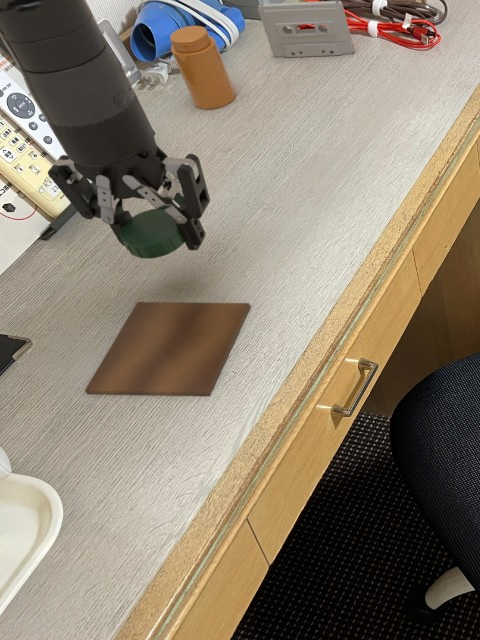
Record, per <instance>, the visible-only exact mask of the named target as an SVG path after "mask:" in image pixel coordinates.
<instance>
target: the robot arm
mask: <svg viewBox="0 0 480 640" xmlns="http://www.w3.org/2000/svg"><path fill="white" fill-rule="evenodd" d="M0 39H1V40H2V42H3V44H4V45H5V47H6V49H7V51H8V52H9V54H10V55H11V57H12V59H13V61H14V62H15V64H16V66H17V68H18V70H19V71H20V73H21V76H22V78H23V80H24V83H25V86H26V88H27V90H28V91H29V94H30V96H31V97H32V99H33V100H34V103H35V104H36V107H38V109H39V111H40V112H41V114H42V116H43V117H44V119H45V121H46V122H47V124H48V126H49V127H50V129H51V131H52V132H53V134H54V136H55V138H56V139H57V141H58V144H59V145H60V146H61V148H62V150H63V151H64V152H65V154H62V155H60V156H59V157H58V158H57V159H56V160H55V162H54V163H53V164H52V165H51V167H50V168H49V169H48V171H47V175H48V177H49V178H50V179H51V180H52V181H53V183H54V184H55V185H56V186H57V188H58V189H59V190H60V192H62V194H63V195H64V196H65V197H66V199H67V200H68V201H69V202H70V204H71V205H72V206H73V207H74V209H75V210H76V211H77V212H78V213H79V215H80V216H81V217H82V218H83V219H86V220H92V219H94V218H97V219H100V220H101V221H102V222H103V223H104V224H106V225H108V226H109V227H110V229H111V230H112V233H113V234H114V236H115V237H116V239H117V241H118V242H119V244H121V245H122V246H124V247H125V245H124V243H123V242H122V241H123V240H122V238H121V235H120V234H121V229H122V228H123V226H124V225H125V223H126V222H127V221H128V220H130V219H131V218H132V217H133V215H132V214H131V212H130V210H124V208H125V200H128V199H131V198H135V199H140V200H146V201H147V202H148V203H149V204H150V205H152V206H153V207H154V209H158V210H160V209H162V210H164V211H165V212H166V213H167V214H168V215H169V216H170V217H171V218H173V219H174V220H175V221H176V226H177V228H178V230H179V232H180V233H181V235H182V237H183V239H184V241H185V242H184V244H185V246H186V247H187V249H188V250H189V251H199V249H200V247H201V245H202V244H203V242H204V240H205V238H206V231H205V229H204V227H203V225H202V222H201V220H200V219H201V218H202V217H203V215H204V213H205V211H206V209H207V208H208V206H209V204H210V203H211V197H210V193H209V190H208V186H207V182H206V179H205V177H204V172H203V168H202V165H201V161H200V157H198V156H197V155H196V154H193V153H187V154H186V156H185V157H184V158H178V157H169V156H168V155H167V153H165V152H164V151H163V150H162V149H161V148H160V147H159V146H158V144H157V141H156V137H155V134H154V129H153V127H152V125H151V123H150V121H149V118H148V116H147V114H146V113H145V110H144V108H143V106H142V104H141V102H140V100H139V99H138V95H137V94H136V92H135V90H134V88H133V86H132V84H131V82H130V80H129V78H128V76H127V73H126V71H125V70H124V68H123V66H122V64H121V62H120V61H119V59H118V57H117V56H116V54H115V53H114V51H113V50H112V49H111V47H110V45H109V44H108V42H107V40H106V37H105V35H104V34H103V32H102V30H101V28H100V26H99V24H98V21H97V20H96V18H95V15H94V14H93V12H92V10H91V8H90V6H89V4H88V2H87V0H0ZM170 173H171V174H172V176H171V174H170ZM91 182H92V183H93V184H94V185H95V186H96V187H97V188H95V186H94V185H93V184H92V183H91ZM161 187H162V189H163V190H162V191H161V193H159V191H160V188H161ZM85 198H86V199H85Z"/></svg>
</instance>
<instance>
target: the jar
mask: <svg viewBox="0 0 480 640" xmlns="http://www.w3.org/2000/svg"><path fill="white" fill-rule="evenodd" d="M169 39H170V44H171V46H170V51H171V54H172V56H173V59H174V61H175V64H176V65H177V67H178V71H179V72H180V75H181V76H182V79H183V81H184V84H185V86H186V88H187V90H188V93H189V95H190V98H191V100H192V102H193V104H194V106H195V107H197V108H198V109H202V110H215V109H219V108H222V107H225V106H227V105H229V104H230V103H232V102H233V101H234V100H235V98H236V95H237V94H236V91H235V89H234V86H233V83H232V80H231V78H230V76H229V72H228V71H227V68H226V64H225V63H224V61H223V58H222V55H221V51H220V49H219V46H218V44H217V42H216V39H215V38H214V37H213V36H211V35H210V34H209V32H208V30H207V28H205V27H204V26H201V25H187V26H183V27H181V28H178V29H176V30H174V31H173V32H172V33H171V34H170V36H169Z"/></svg>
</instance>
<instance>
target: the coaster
mask: <svg viewBox="0 0 480 640" xmlns="http://www.w3.org/2000/svg"><path fill="white" fill-rule="evenodd" d="M250 309H251V304H250V303H249V302H177V301H176V302H175V301H173V302H172V301H171V302H170V301H169V302H168V301H161V302H160V301H137V302H136V304H135V305H134V307H133V309H132V310H131V312H130V314H129V315H128V317H127V318H126V320H125V322H124V324H123V325H122V327H121V329H120V331H119V332H118V333H117V335H116V337H115V338H114V340H113V342H112V344H111V345H110V347H109V349H108V350H107V352H106V354H105V356H104V357H103V359H102V360H101V362H100V364H99V366H98V367H97V369H96V371H95V372H94V374H93V375H92V377H91V379H90V380H89V383H88V384H87V386H86V387H85V389H84V392H85V393H86V394H89V395H91V394H92V395H98V394H99V395H143V396H144V395H150V396H152V395H153V396H207V397H208V396H211V393H212V392H213V389H214V387H215V384H216V383H217V380H218V378H219V376H220V374H221V371H222V370H223V367H224V366H225V363H226V362H227V359H228V357H229V354H230V352H231V349H233V345H234V343H235V341H236V339H237V337H238V335H239V333H240V330H241V328H242V326H243V324H244V322H245V319H246V317H247V316H248V313H249V311H250Z"/></svg>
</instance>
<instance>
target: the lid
mask: <svg viewBox="0 0 480 640" xmlns="http://www.w3.org/2000/svg"><path fill="white" fill-rule="evenodd" d="M120 235H121V238H122V240H123V241H122V242H123V243H124V245H125V246H124V247H125V248H126V250H127V251H128V252H129V254H131V256H132V257H136V258H138V259H145V260H146V259H147V260H148V259H158V258H161V257H164V256H167V255H169V254H171V253H173V252H175V251H177V250H178V249H179V248H180V247H182V246H183V245H184V244H185V241H184V239H183V237H182V235H181V233H180V232H179V230H178V228H177V226H176V221H175V220H174V219H173V218H171V217H170V216H169V215H168V214H167V213H166V212H165V211H164V210H162V209H160V210H158V209H156V208H151V209H148V210H147V209H146V210H144V211H142V212H139V213H137V214H135V215H134V216H132V218H131V219H130V220H128V221H127V222H126V223H125V225H124V226H123V228H122V229H121V234H120Z"/></svg>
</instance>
